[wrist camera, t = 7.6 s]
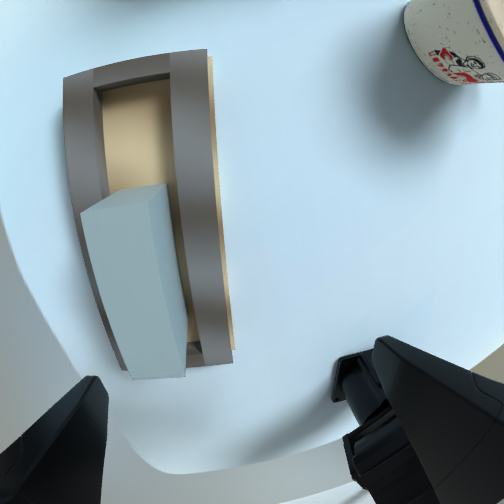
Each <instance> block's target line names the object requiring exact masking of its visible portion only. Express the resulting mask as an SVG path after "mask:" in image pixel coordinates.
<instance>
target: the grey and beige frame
mask: <svg viewBox="0 0 504 504" xmlns="http://www.w3.org/2000/svg"><path fill="white" fill-rule="evenodd" d="M63 121H64V139H65V152H66V162H67V171H68V179H69V186H70V193H71V199H72V205H73V211H74V216H75V222H76V227H77V231H78V236H79V241H80V245H81V249H82V253H83V257H84V261H85V265H86V269H87V273H88V276H89V280H90V283H91V287H92V290H93V293H94V297H95V300H96V303H97V306H98V309H99V312H100V315H101V318H102V321H103V324H104V326H105V329H106V332H107V335H108V337H109V340H110V342H111V345H112V348H113V350H114V353H115V355H116V357H117V360H118V362H119V365H120V367H121V369H122V370H128V369H127V367H126V365H125V362H124V360H123V357H122V355H121V352H120V350H119V347H118V345H117V342H116V340H115V337H114V334H113V331H112V329H111V326H110V323H109V320H108V317H107V314H106V311H105V308H104V305H103V302H102V299H101V296H100V293H99V289H98V286H97V282H96V279H95V275H94V272H93V268H92V264H91V260H90V256H89V252H88V248H87V244H86V240H85V235H84V230H83V226H82V221H81V215H80V213H81V212H83V211H85V210H86V209H88V208H90V207H91V206H93V205H95V204H96V203H98V202H100V201H101V200H103V199H105V198H107V197H108V196H110V195H112V194H114V193H115V192H117V191H119V190H123V189H129V188H136V187H142V186H149V185H156V184H163V183H168V190H169V199H170V207H171V215H172V222H173V229H174V236H175V243H176V249H177V256H178V262H179V268H180V274H181V279H182V285H183V291H184V296H185V301H186V306H187V312H188V328H187V346H186V368H189V367H201V366H212V365H221V364H230V363H233V358H232V350H235V344H234V335H233V326H232V317H231V308H230V298H229V288H228V278H227V268H226V257H225V246H224V235H223V223H222V211H221V198H220V185H219V172H218V157H217V142H216V126H215V108H214V89H213V67H212V57H207V49H200V50H189V51H180V52H172V53H165V54H158V55H152V56H146V57H141V58H136V59H131V60H126V61H122V62H117V63H113V64H109V65H105V66H101V67H97V68H94V69H90V70H87V71H83V72H80V73H77V74H74V75H71V76H68V77H65V78H63Z"/></svg>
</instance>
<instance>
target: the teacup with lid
mask: <svg viewBox="0 0 504 504" xmlns="http://www.w3.org/2000/svg"><path fill="white" fill-rule="evenodd" d="M404 24H405V29H406V33H407V36H408V38H409V41H410V43H411V45H412V47H413V49H414V51H415V52H416V54H417V56H418V57H419V58H420V60H421V61H422V63H423V64H424V65H425V66H426V67H427V68H428V69H429V70H430V71H431V72H432V73H433V74H434V75H435V76H436V77H438V78H439V79H441V80H442V81H444V82H447V83H449V84H454V85H460V84H473V83H497V82H504V0H411V1H410V2H409V3H408V4H407V6H406V8H405V11H404Z"/></svg>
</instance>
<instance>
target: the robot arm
mask: <svg viewBox="0 0 504 504" xmlns="http://www.w3.org/2000/svg"><path fill="white" fill-rule="evenodd" d="M331 399H332V401H333V402H334V403H335V402H339V401H343V400H346V401H347V403H348V405H349V406H350V408H351V410H352V412H353V414H354V416H355V418H356V420H357V422H358V424H359V425H360V426H359V427H358V428H356V429H355V430H353V431H352V432H350V433H349V434H346V435H344V436H343V437H342V438H343V442H344V449H345V452H346V456H347V461H348V465H349V469H350V474H351V475H352V479H353V480H354V481H356V482H357V483H358V484H359V485H360V486H361V487H362V488H363V489H365V490H368V491H369V492H370V494H371V496H372V497H373V499H374V501H375V503H376V504H504V384H503V383H500V382H497V381H494V380H491V379H489V378H486V377H483V376H481V375H479V374H476V373H474V372H472V373H471V371H469V370H467V369H464V368H462V367H460V366H457V365H455V364H453V363H450V362H448V361H446V360H443V359H441V358H439V357H436V356H434V355H432V354H429V353H427V352H425V351H422V350H420V349H418V348H416V347H413V346H411V345H409V344H407V343H404V342H402V341H400V340H398V339H395V338H393V337H391V336H388V335H385V336H382V337H378V338H377V339H376V340H375V344H374V349H371V350H367V351H363V352H360V353H356V354H352V355H348V356H344V357H342V358H340V359H339V362H338V367H337V372H336V378H335V383H334V388H333V392H332V397H331ZM108 403H109V397H108V393H107V391H106V389H105V387H104V386H103V384H102V382H101V380H100V378H99V377H98V376H85V377H84V378H83V379H82V380H81V381H80V382H79V383H78V384H76V385H75V386H74V387H73V388H72V389H71V390H70V391H69V392H68V393H67V394H65V395H64V396H63V397H62V398H61V399H60V400H59V401H58V402H57V403H56V404H54V405H53V406H52V407H51V408H50V409H49V410H48V411H47V412H46V413H45V414H44V415H43V416H41V417H40V418H39V419H38V420H37V421H36V422H35V423H34V424H33V425H32V426H31V427H30V428H29V429H27V430H26V431H25V432H24V433H23V434H22V436H20V437H19V438H18V439H17V440H16V441H15V442H13V443H12V444H11V445H10V446H9V447H8V448H7V449H6V450H4V451H3V452H2V453H1V454H0V504H100V503H101V502H100V501H101V487H102V476H103V466H104V458H105V449H106V441H107V423H108Z"/></svg>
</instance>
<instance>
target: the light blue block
mask: <svg viewBox="0 0 504 504" xmlns="http://www.w3.org/2000/svg"><path fill="white" fill-rule="evenodd" d="M80 215H81V221H82V226H83V230H84V235H85V240H86V244H87V248H88V252H89V256H90V260H91V264H92V268H93V272H94V275H95V279H96V282H97V286H98V289H99V293H100V296H101V299H102V302H103V305H104V308H105V311H106V314H107V317H108V320H109V323H110V326H111V329H112V331H113V334H114V337H115V340H116V342H117V345H118V347H119V350H120V352H121V355H122V357H123V360H124V362H125V365H126V367H127V369H128V372H129V374H130V376H131V378H132V379H156V378H175V377H185V369H186V346H187V328H188V312H187V306H186V301H185V296H184V291H183V285H182V279H181V274H180V268H179V262H178V256H177V249H176V243H175V236H174V229H173V222H172V215H171V207H170V199H169V190H168V183H163V184H156V185H149V186H142V187H136V188H129V189H123V190H119V191H117V192H115V193H114V194H112V195H110V196H108V197H107V198H105V199H103V200H101V201H100V202H98V203H96V204H95V205H93V206H91V207H90V208H88V209H86V210H85V211H83V212H81V213H80Z"/></svg>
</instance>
